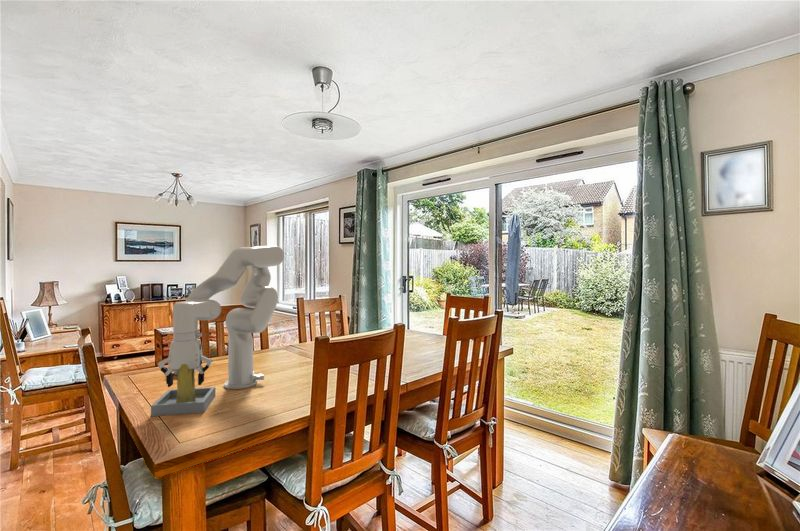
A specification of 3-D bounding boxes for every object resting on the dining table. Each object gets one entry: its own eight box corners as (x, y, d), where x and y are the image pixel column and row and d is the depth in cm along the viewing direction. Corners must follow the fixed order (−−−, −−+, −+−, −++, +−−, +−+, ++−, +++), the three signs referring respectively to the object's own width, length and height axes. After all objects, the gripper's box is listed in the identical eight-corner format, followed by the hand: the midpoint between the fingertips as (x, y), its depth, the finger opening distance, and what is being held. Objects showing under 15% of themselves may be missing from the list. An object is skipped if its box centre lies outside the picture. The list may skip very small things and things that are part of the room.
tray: (215, 396, 145) (215, 386, 145) (203, 412, 130) (204, 402, 130) (168, 399, 142) (168, 389, 142) (150, 416, 126) (150, 405, 126)
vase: (186, 406, 132) (187, 365, 132) (171, 404, 133) (171, 364, 133) (199, 400, 138) (199, 360, 138) (184, 398, 139) (184, 359, 139)
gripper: (214, 333, 141) (214, 380, 141) (162, 335, 137) (162, 383, 137) (209, 337, 134) (209, 386, 134) (153, 339, 130) (153, 390, 130)
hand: (185, 384), depth 136 cm, fingers open, 9 cm apart
